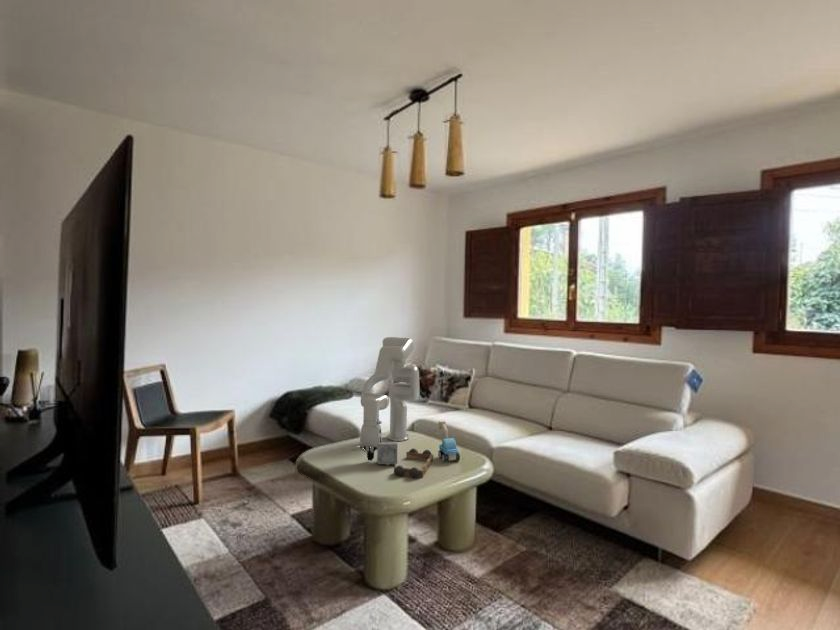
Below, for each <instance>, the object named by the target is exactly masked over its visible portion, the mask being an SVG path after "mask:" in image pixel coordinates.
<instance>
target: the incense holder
mask: <svg viewBox="0 0 840 630" xmlns="http://www.w3.org/2000/svg"><path fill="white" fill-rule="evenodd" d="M376 451H377V452H376V454H377V455H376V464H377V465H386V466H387V467H389V466H390V465H397V464H398V441H391V442H390V441H389V442H388V441H382V443H381V442H380V443H379V444H378V449H376Z"/></svg>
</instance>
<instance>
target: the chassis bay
mask: <svg viewBox="0 0 840 630" xmlns="http://www.w3.org/2000/svg"><path fill="white" fill-rule="evenodd" d="M406 459H408V460H409V459H410V460H416V459H417V461H425V460H427V461H425V463H424V464H423V466H422V468H421V469H419V468H417V466H416V467H415V466H414V467H411V468H408V467H404V466H403V465H397V466H394V467H393V475H396V476H397V477H402V476H407V477H411V479H417V478H424V476H425V474H426V473H427V471H428V470H429V468H430V467H431V465H432V464H433V462H434V454H432V451H430V450H429V449H425V450H423V452H419V451H418V450H417V449H416V448H411V449H409V451H407V452H406ZM429 466H430V467H429Z"/></svg>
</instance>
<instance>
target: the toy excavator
mask: <svg viewBox="0 0 840 630" xmlns="http://www.w3.org/2000/svg"><path fill="white" fill-rule="evenodd" d="M437 424H438V426H437V427H438V430H439V431H440V430H441V431H443V435H444V436H443V437H444V438H443V439H442V440H441V444H439V450H438V451H437V453H438V454H437V456H438V457H439V459H441V461H442V463H448V462H449V461H455V462H458V461H460V460H461V454H460V452H459V449H458V447H457V443H456V440H455V438H453V437H451V438H450V437H449V429H448V428H447V425H446V420H440V421H438V423H437Z"/></svg>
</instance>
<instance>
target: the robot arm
mask: <svg viewBox="0 0 840 630" xmlns="http://www.w3.org/2000/svg"><path fill="white" fill-rule="evenodd" d="M414 344H415V343H414V341H413V339H412V338H409V337H396V336H388V337H384V338H383V340H382V347H380V349H379V353H378V357H377V362H376V366H375V372H374V373H373V374H372V375H371V376H370V377H369V378H368V379H367V380H366V381H365V383H364V384H363V387H362V390H361V395H360V406H361V407H362V408H363V420H362V422H363V423H362V425H361V429H360V435H359V445H360V447H362V448H364V449H365V450H364V451H365V452H366V459H367V461H368V462H371V461H372V460H374V459H375V451H377V449H378V444H379V443H380V442H381V443H382V442H383V434H382V433H383V432H382V426H381V424H382V421H381V420H380V411H383V410H386V409H387V408H388V406H389V405H390V406H389V407H390V410H389V414H390V415H389V433H388V434H387V436H386V439H387V440H389V441H391V442H403V441H406V440H409V439H410V435H409V434H408V433H407V429H408V427H407V426H408V425H407V422H408V419H407V416H408V406H407V404H406V403H405V402H407V401H408V402H416V401H418V400H419V398H420V395H421V394H420V387H421V386H420V370H419V368H418V367H417V366H416V365H411V364H410V365H409V364H408V365H407V362H406V361H407V360H408V358H409V357H410V355H411V354H412V352H413V350H414V346H415V345H414ZM390 378H391V379H392V381H394V383H392V384H390V386H389V388H388V394H389V395H386V394H383V393H373V392H372V393H371V390H372V388H373V387H374V386H375V385H377V384H379V383H380V382H382V381H385V380H388V379H390ZM370 447H371V449H370Z"/></svg>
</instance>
